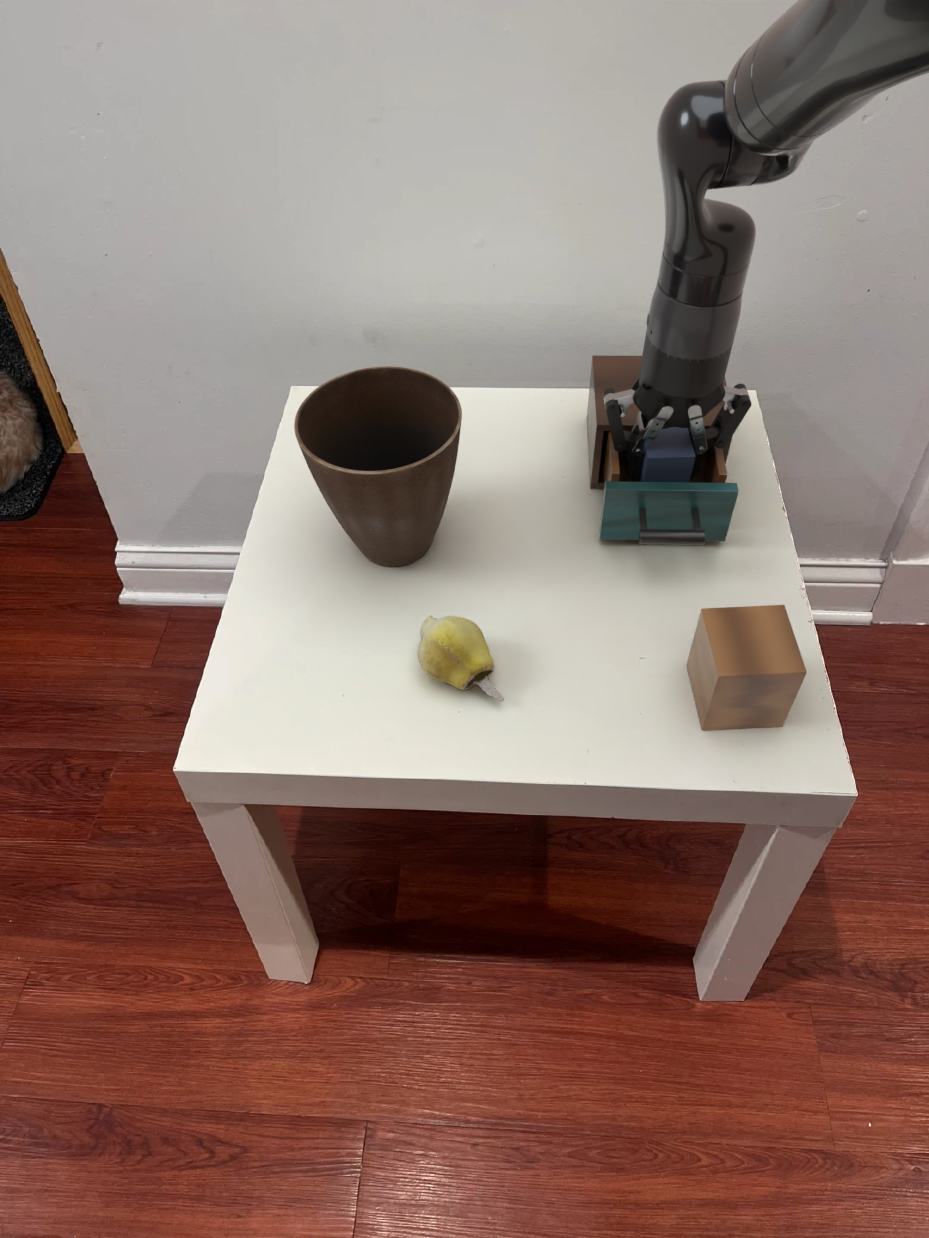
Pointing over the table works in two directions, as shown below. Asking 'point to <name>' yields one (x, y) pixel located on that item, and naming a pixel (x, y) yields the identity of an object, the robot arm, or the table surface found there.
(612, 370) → the cabinet
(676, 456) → the block
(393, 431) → the flower pot
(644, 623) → the table surface
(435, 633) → the fruit
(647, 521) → the drawer
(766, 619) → the cube
